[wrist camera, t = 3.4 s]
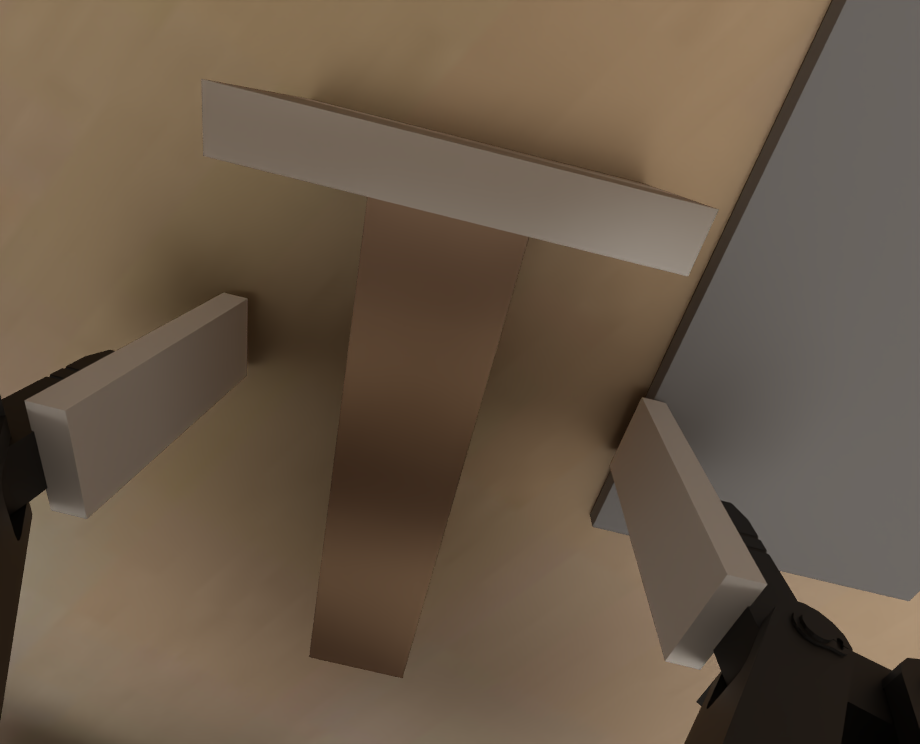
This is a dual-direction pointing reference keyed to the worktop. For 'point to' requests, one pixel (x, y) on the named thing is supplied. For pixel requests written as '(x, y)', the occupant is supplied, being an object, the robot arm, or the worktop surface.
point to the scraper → (425, 322)
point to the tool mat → (818, 320)
